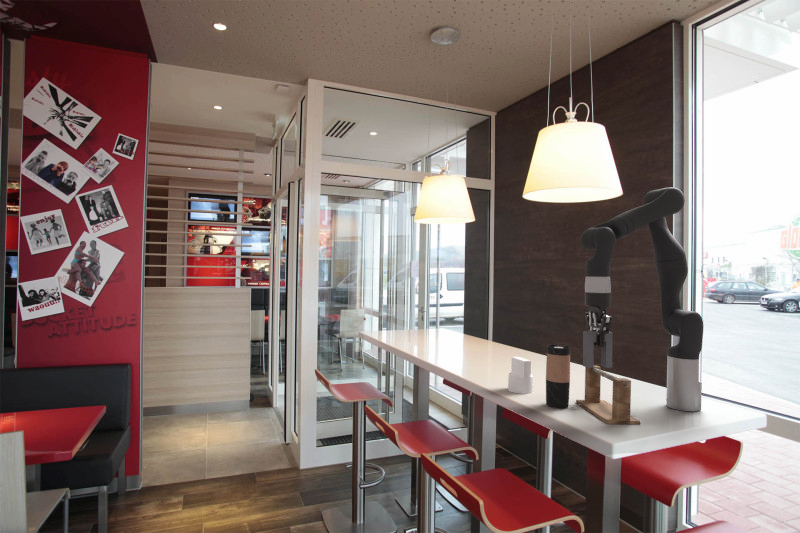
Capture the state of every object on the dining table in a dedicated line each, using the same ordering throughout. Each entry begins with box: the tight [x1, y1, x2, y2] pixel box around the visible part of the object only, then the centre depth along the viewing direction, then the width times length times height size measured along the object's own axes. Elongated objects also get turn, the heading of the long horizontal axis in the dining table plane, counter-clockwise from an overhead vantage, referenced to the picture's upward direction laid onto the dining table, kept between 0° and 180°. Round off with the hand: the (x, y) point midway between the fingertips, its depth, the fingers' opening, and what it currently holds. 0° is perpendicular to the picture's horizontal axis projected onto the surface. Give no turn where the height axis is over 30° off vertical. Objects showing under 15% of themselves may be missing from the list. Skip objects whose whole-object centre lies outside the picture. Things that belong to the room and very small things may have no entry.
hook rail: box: [575, 364, 641, 425], centre depth 147 cm, size 10×22×13 cm, turn 2°
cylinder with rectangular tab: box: [507, 356, 534, 395], centre depth 172 cm, size 9×9×12 cm
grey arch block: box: [582, 330, 613, 369], centre depth 143 cm, size 8×3×11 cm, turn 93°
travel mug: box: [545, 344, 571, 410], centre depth 154 cm, size 8×8×20 cm
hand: (597, 345), depth 143 cm, fingers closed on grey arch block, 3 cm apart
